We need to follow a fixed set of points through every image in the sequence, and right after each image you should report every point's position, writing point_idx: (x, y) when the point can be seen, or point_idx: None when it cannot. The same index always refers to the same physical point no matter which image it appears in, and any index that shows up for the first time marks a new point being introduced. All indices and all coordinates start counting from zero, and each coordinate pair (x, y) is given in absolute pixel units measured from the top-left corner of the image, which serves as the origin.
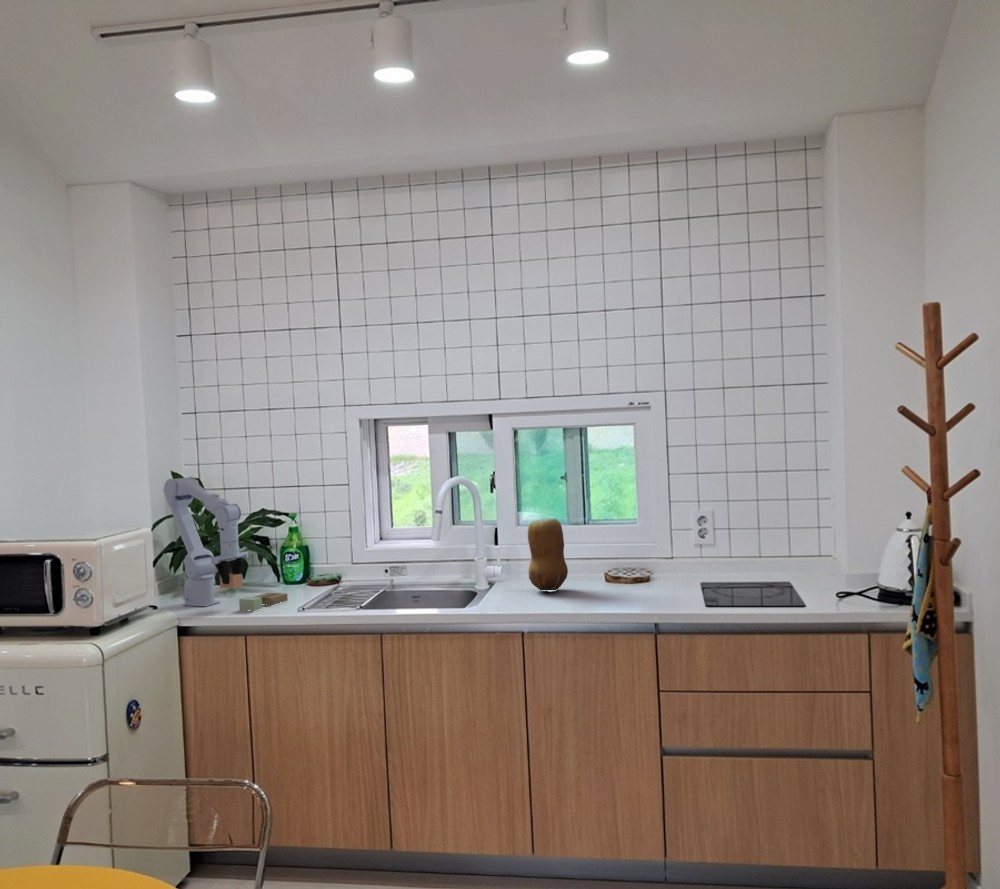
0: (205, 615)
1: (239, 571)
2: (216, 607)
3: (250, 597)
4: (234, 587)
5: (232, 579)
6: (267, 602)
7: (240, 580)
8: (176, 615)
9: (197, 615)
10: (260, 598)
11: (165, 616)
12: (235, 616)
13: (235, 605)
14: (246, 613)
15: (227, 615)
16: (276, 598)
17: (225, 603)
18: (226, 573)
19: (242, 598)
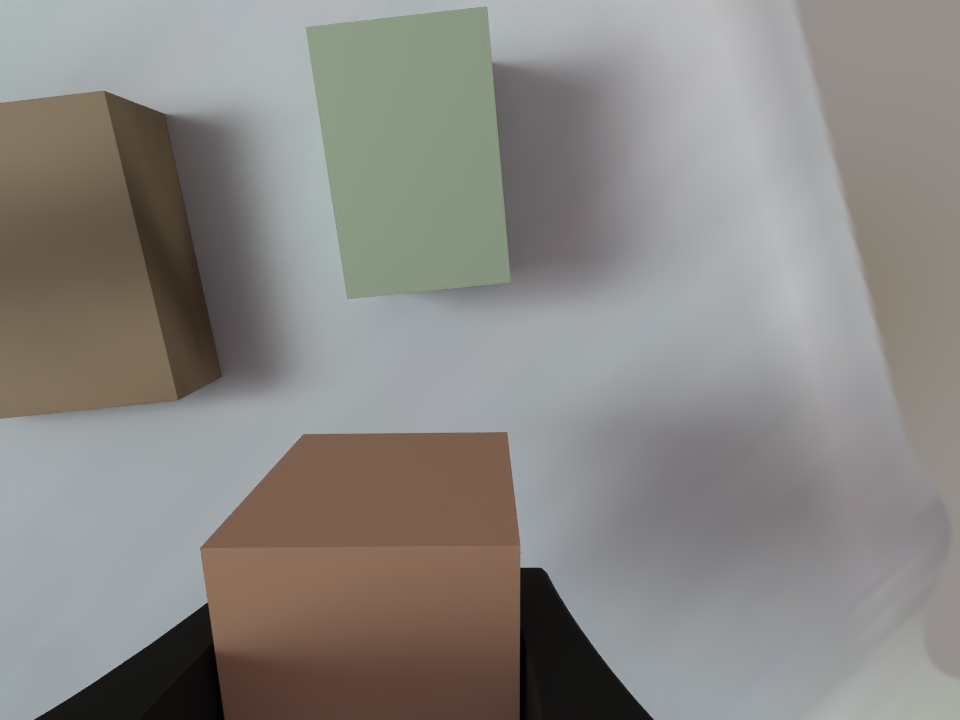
0: (792, 430)
1: (154, 696)
2: None
3: (367, 214)
4: (481, 438)
5: (516, 520)
6: (159, 179)
7: (308, 482)
8: (862, 666)
9: (813, 500)
10: (339, 26)
11: (919, 716)
12: (744, 84)
13: None
14: (579, 88)
15: (728, 215)
16: (32, 107)
17: None
18: (647, 715)
19: (465, 268)
